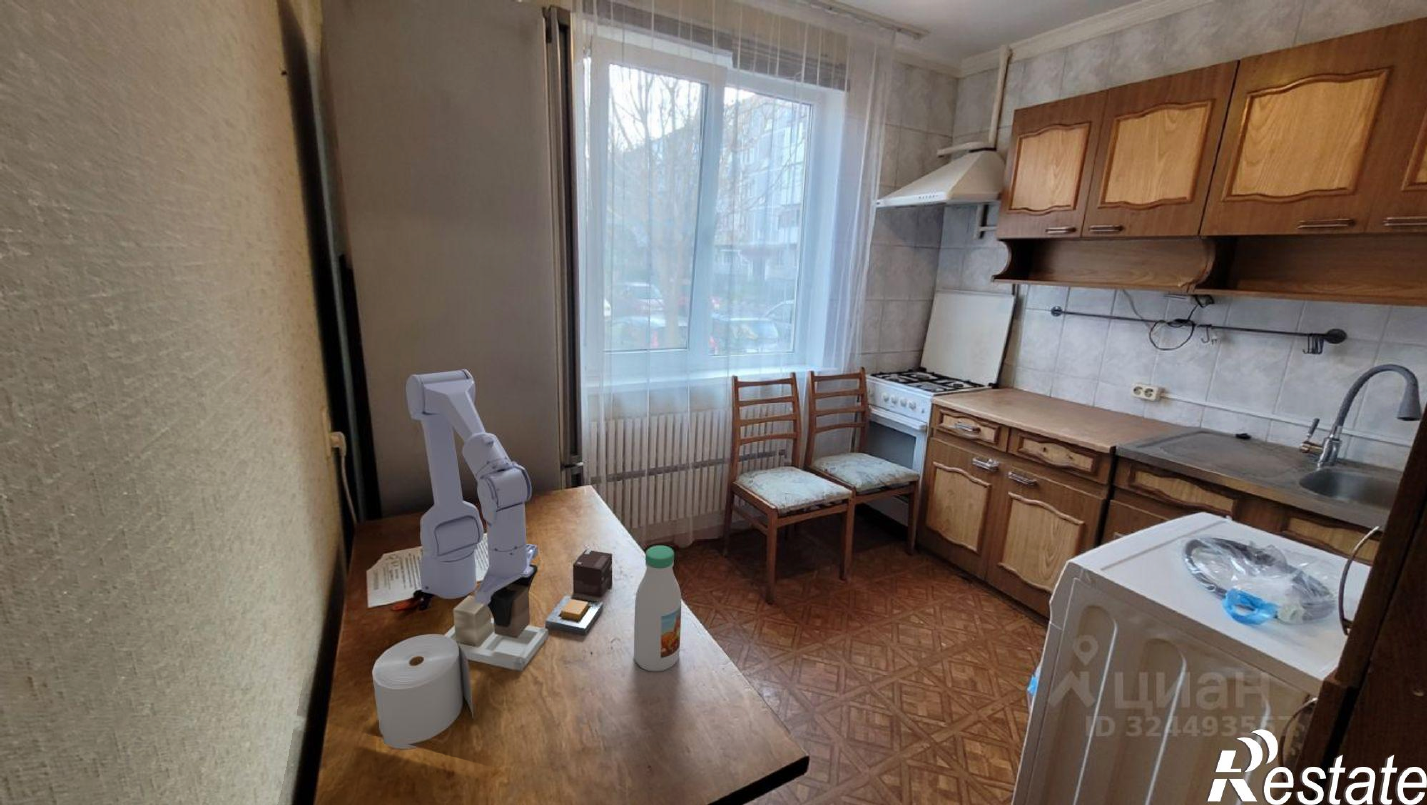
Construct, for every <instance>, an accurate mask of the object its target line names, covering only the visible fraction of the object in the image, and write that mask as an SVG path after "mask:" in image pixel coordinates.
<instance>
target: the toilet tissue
mask: <svg viewBox="0 0 1427 805" xmlns="http://www.w3.org/2000/svg"><path fill="white" fill-rule="evenodd" d="M444 635H445V634H444ZM444 635H443V634H437V633H434V634H433V633H432V634H431V633H430V634H423V635H422V634H421V635H417V636H412V637H409V638H407V639H404V640H402V641H400V642H398V643H395V644H394V645H393V646H391V647H390V648H387V649H386V650H384V652H383V653H382V654H381V655H380V656H379V657H378V658H377V659H376V660H375V663H374V666H373V668H372V671H371V673H372V674H371V675H372V681H373V682H372V684H373V687H374V688H373V689H374V696H375V697H374V698H375V702H376V712H377V714H376V715H377V719H378V729H379V732H380V734H381V736H382V737H381V739H382V740H383V743H384V744H385V745H387V746H389V747H391V748H393V749H396V750H397V749H399V750H400V749H401V750H408V749H415V748H418V746H417V745H416V746H415V745H413V744H416V743H420V742H423V741H424V742H425V741H428V740H430V739H432V738H433V737H435V736H437V735H439V734H441V733H443V732H444V731H445V730H446V729H448V728H449V727H450V726H451V725H452V724H453V723H454V722H455V720H457V718H458V717H459V715H461V712H462V708H463V704H464V699H465V701H466V703H467V704H468V707H469V709H470V712H471V714H472V717H474V711H473V710H474V709H473V699H472V695H473V694H472V687H471V674H470V665H469V659H467V657H466V656H465V652H464V651H463V650H462V648H461V647H460V646H459V645H458V644H457V643H456V642H455V641H454V640H453V639H451V638H449V637H448V636H444ZM463 697H464V698H463Z"/></svg>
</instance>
